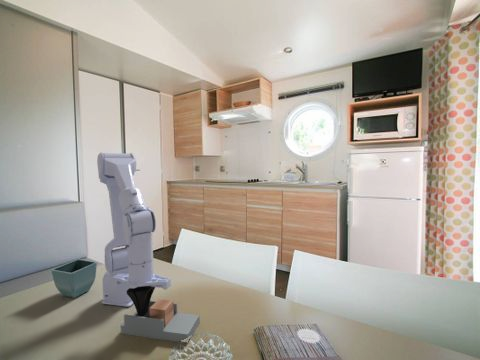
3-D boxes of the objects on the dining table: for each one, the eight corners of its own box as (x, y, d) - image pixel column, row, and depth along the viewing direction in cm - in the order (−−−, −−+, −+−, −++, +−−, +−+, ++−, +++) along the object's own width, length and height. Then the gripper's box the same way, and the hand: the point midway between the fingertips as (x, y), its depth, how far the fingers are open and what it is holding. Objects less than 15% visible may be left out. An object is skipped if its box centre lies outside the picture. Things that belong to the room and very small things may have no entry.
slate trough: (121, 333, 57) (120, 315, 57) (139, 315, 64) (138, 299, 63) (187, 343, 53) (187, 323, 53) (199, 323, 60) (199, 305, 60)
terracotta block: (150, 324, 57) (149, 308, 56) (159, 314, 61) (158, 299, 60) (165, 326, 56) (164, 310, 56) (173, 316, 60) (173, 300, 60)
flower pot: (72, 303, 70) (71, 273, 70) (52, 298, 73) (50, 269, 73) (99, 288, 79) (97, 261, 78) (79, 284, 81) (78, 258, 81)
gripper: (102, 264, 56) (105, 320, 57) (158, 269, 53) (161, 328, 54) (123, 253, 63) (125, 304, 64) (174, 257, 60) (175, 309, 61)
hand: (143, 314), depth 59 cm, fingers closed
